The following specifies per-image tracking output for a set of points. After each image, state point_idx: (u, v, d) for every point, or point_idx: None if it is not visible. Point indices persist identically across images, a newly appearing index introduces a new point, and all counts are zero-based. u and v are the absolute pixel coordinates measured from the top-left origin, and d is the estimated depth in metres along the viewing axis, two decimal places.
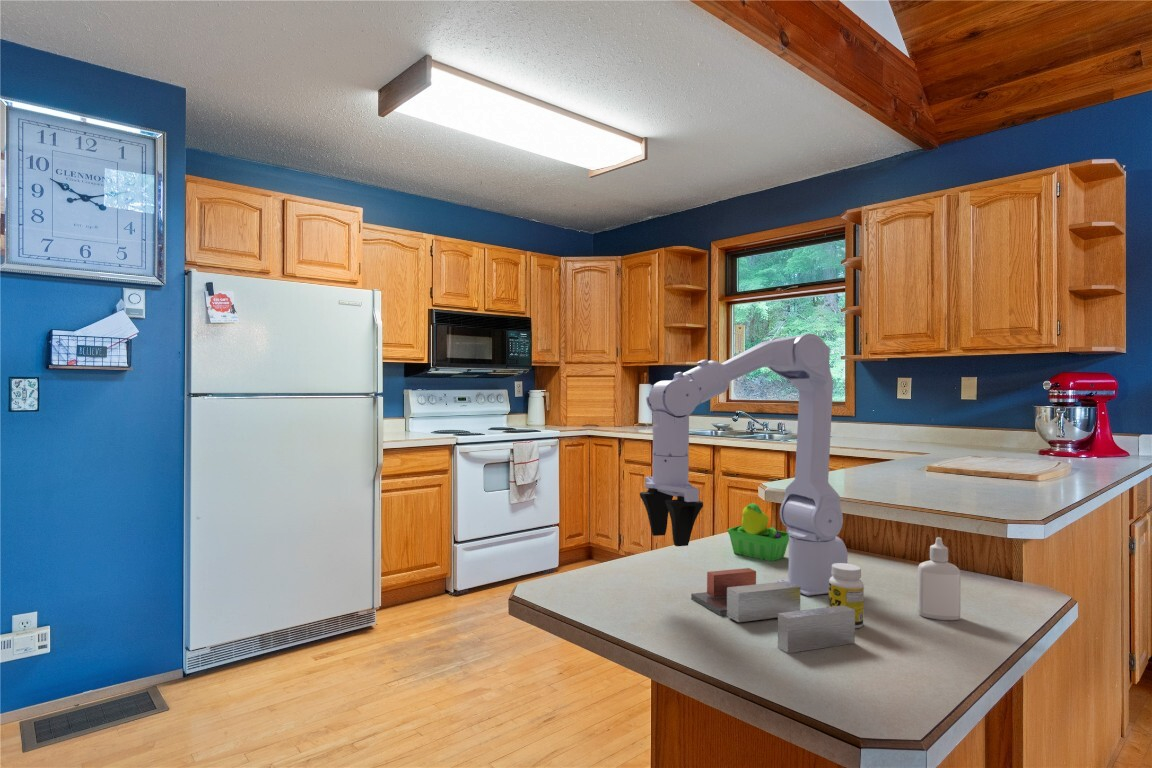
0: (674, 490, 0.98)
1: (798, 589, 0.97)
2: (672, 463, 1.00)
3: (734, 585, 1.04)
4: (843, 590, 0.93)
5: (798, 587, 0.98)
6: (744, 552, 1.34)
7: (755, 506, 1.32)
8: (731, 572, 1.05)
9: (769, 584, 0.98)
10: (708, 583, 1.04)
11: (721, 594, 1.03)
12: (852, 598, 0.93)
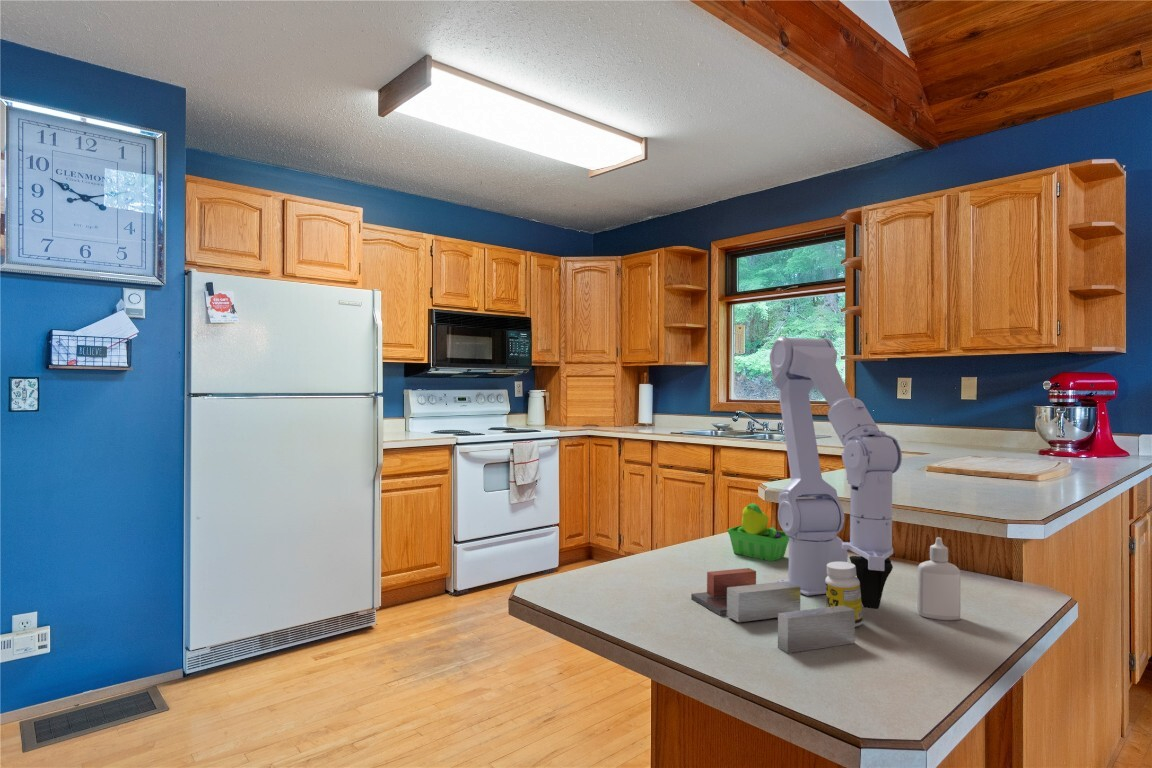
0: (862, 555, 0.93)
1: (798, 589, 0.97)
2: (865, 525, 0.94)
3: (734, 585, 1.04)
4: (840, 589, 0.93)
5: (798, 587, 0.98)
6: (744, 552, 1.34)
7: (755, 506, 1.32)
8: (731, 572, 1.05)
9: (769, 584, 0.98)
10: (708, 583, 1.04)
11: (721, 594, 1.03)
12: (849, 597, 0.93)
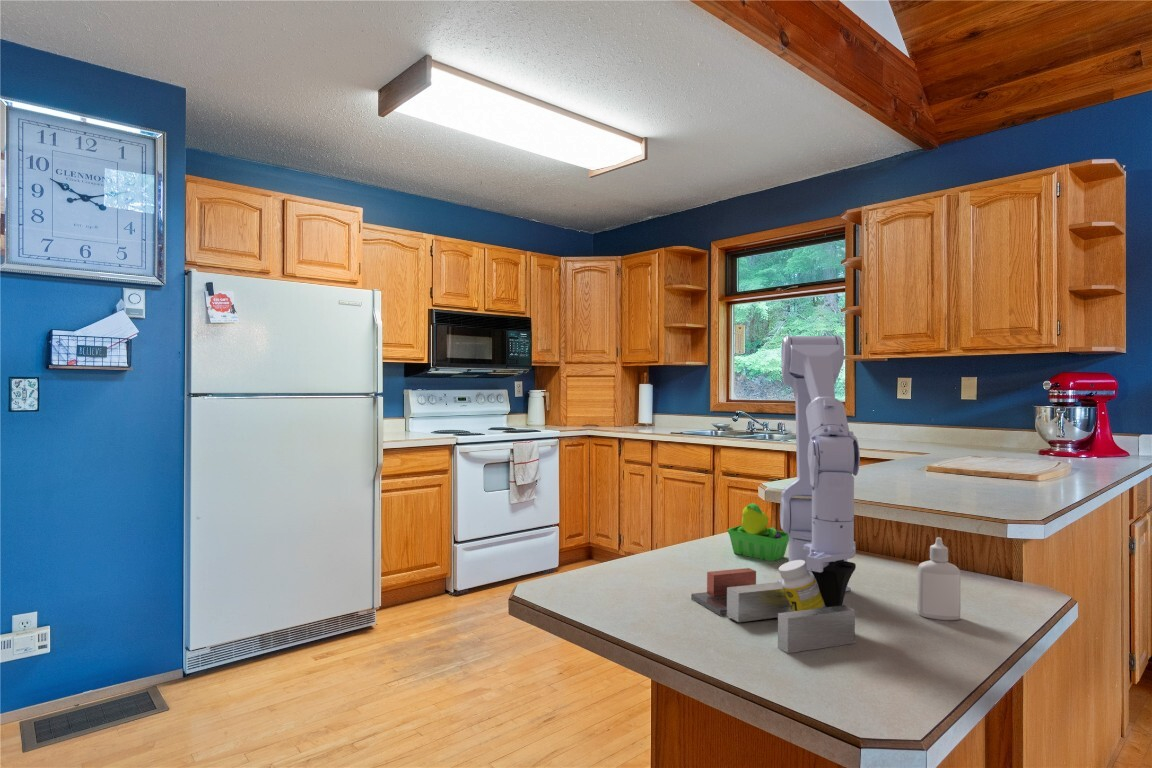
0: None
1: None
2: (819, 527, 0.93)
3: (734, 585, 1.04)
4: (793, 590, 0.92)
5: None
6: (744, 552, 1.34)
7: (755, 506, 1.32)
8: (731, 572, 1.05)
9: (769, 584, 0.98)
10: (708, 583, 1.04)
11: (721, 594, 1.03)
12: (804, 596, 0.91)
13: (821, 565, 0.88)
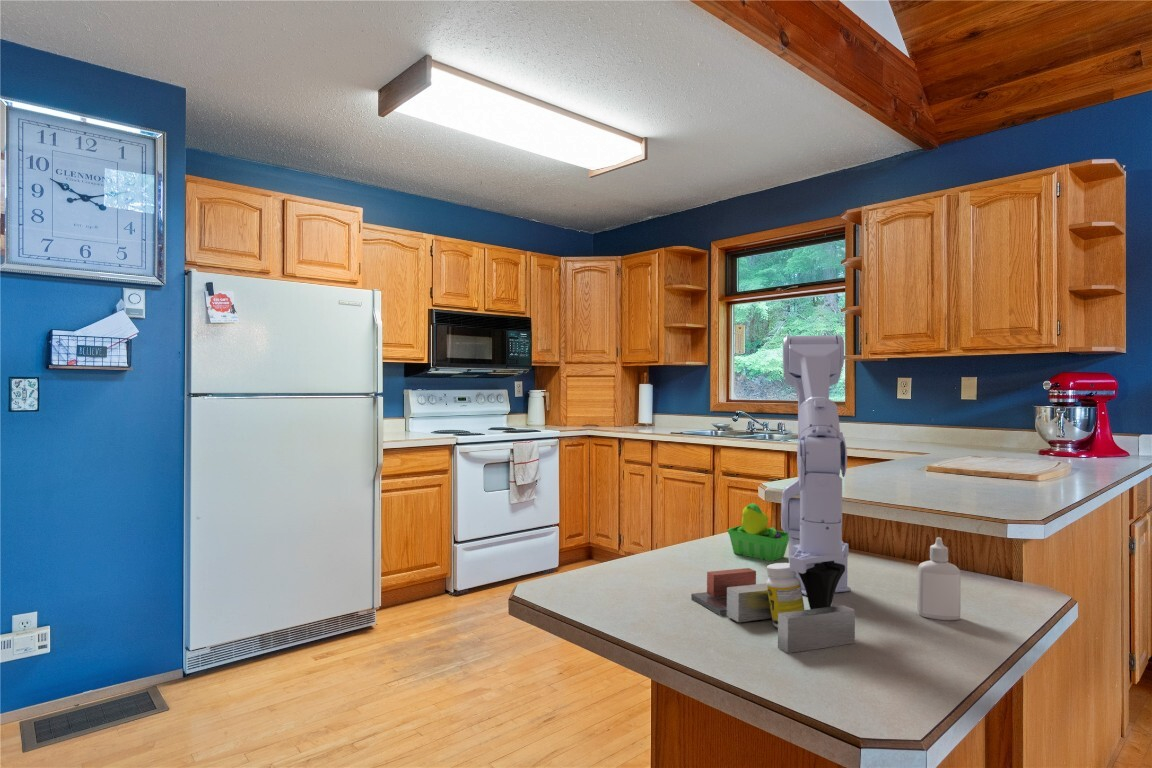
0: None
1: None
2: (805, 528, 0.92)
3: (734, 585, 1.04)
4: (773, 589, 0.92)
5: None
6: (744, 552, 1.34)
7: (755, 506, 1.32)
8: (731, 572, 1.05)
9: None
10: (708, 583, 1.04)
11: (721, 594, 1.03)
12: (783, 597, 0.91)
13: (803, 566, 0.88)
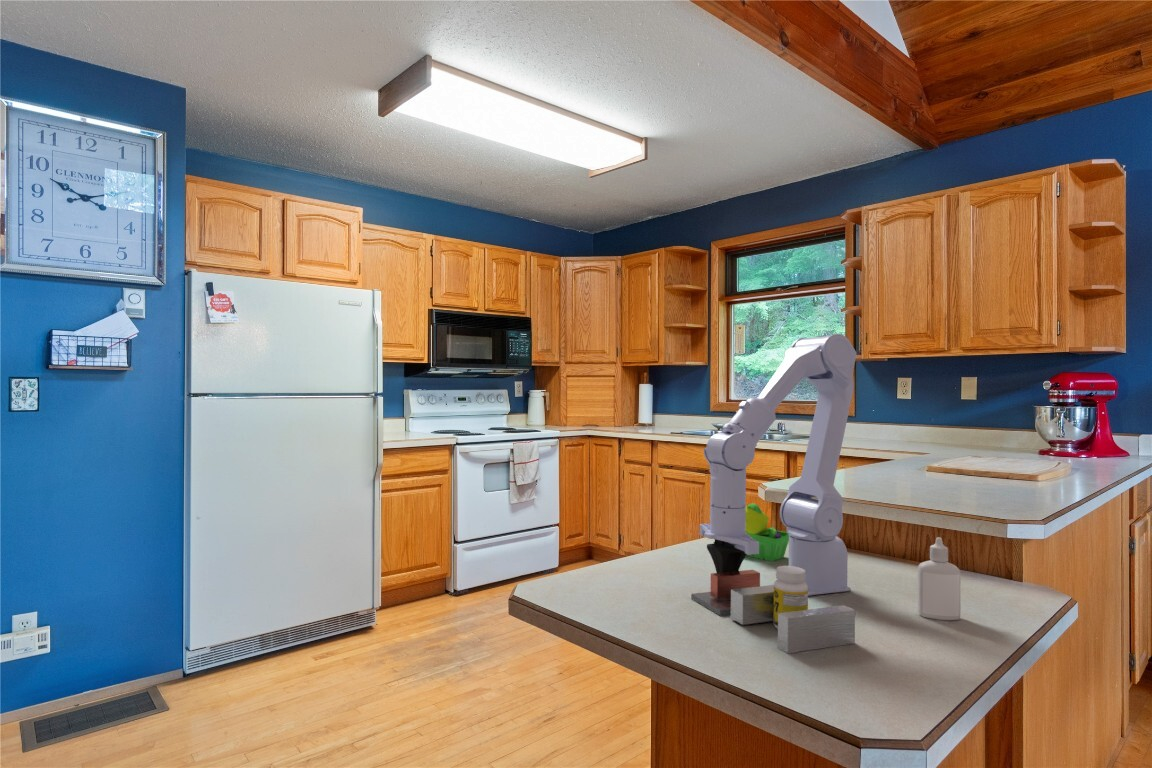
0: (734, 542, 1.02)
1: None
2: (731, 515, 1.04)
3: (738, 587, 1.03)
4: (780, 592, 0.91)
5: None
6: None
7: (755, 506, 1.32)
8: (735, 574, 1.04)
9: (773, 586, 0.98)
10: (711, 585, 1.03)
11: (725, 596, 1.02)
12: (789, 601, 0.91)
13: None
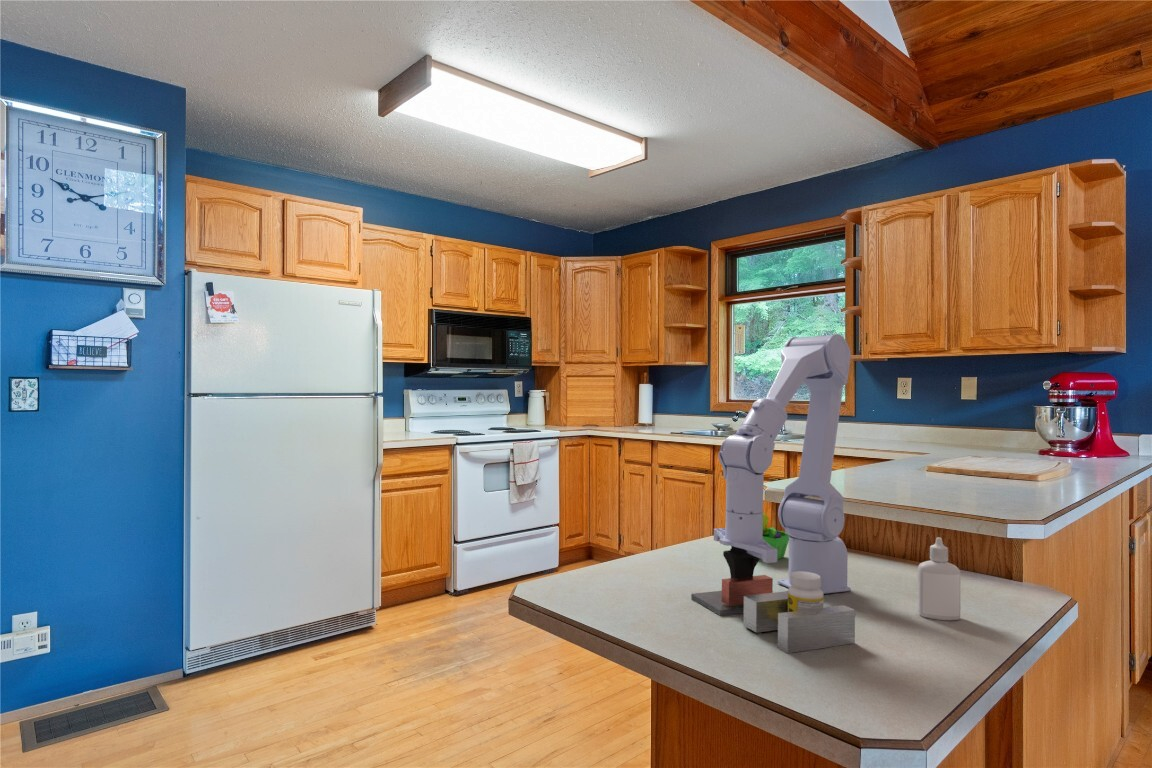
0: (751, 549, 0.97)
1: None
2: (748, 521, 0.99)
3: (750, 593, 1.00)
4: (795, 598, 0.88)
5: None
6: None
7: None
8: (747, 579, 1.00)
9: (787, 592, 0.94)
10: (723, 591, 1.00)
11: (736, 602, 0.99)
12: (803, 608, 0.88)
13: None
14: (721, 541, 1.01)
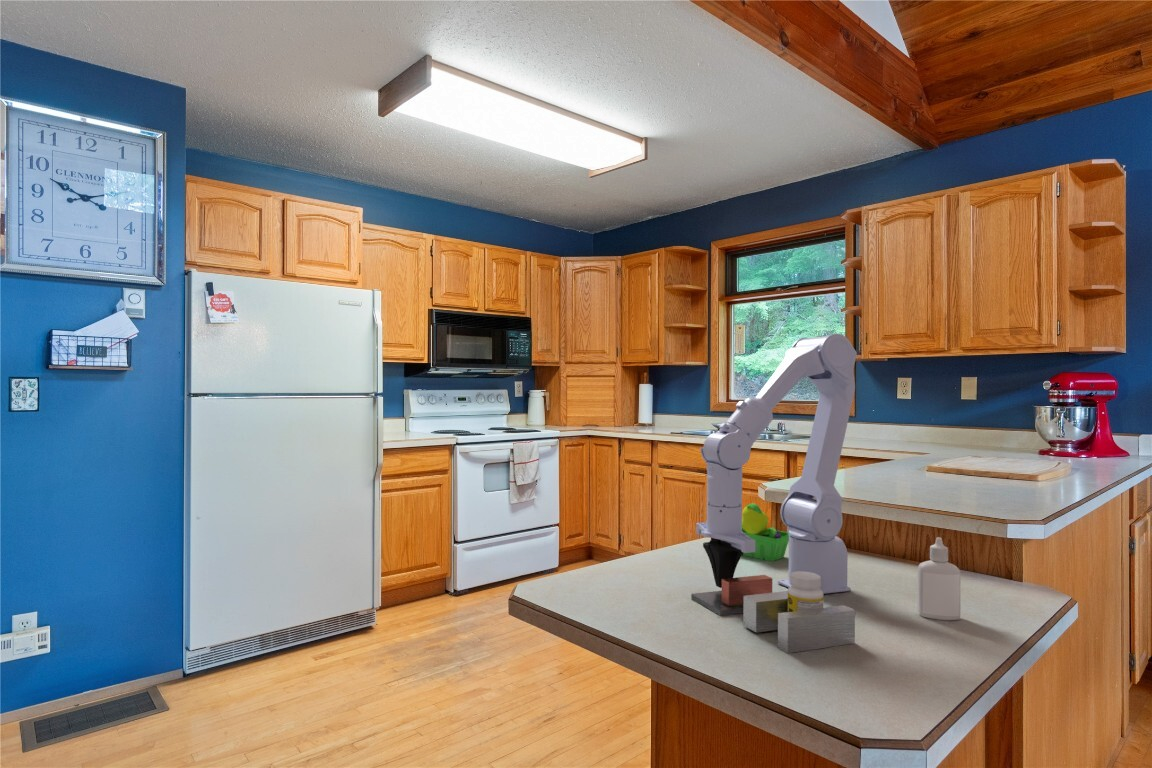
0: (730, 540, 1.03)
1: None
2: (728, 513, 1.05)
3: (750, 593, 1.00)
4: (795, 598, 0.88)
5: None
6: None
7: (755, 506, 1.32)
8: (746, 579, 1.01)
9: (787, 592, 0.95)
10: (723, 591, 1.00)
11: (736, 602, 0.99)
12: (803, 608, 0.88)
13: None
14: (702, 533, 1.06)
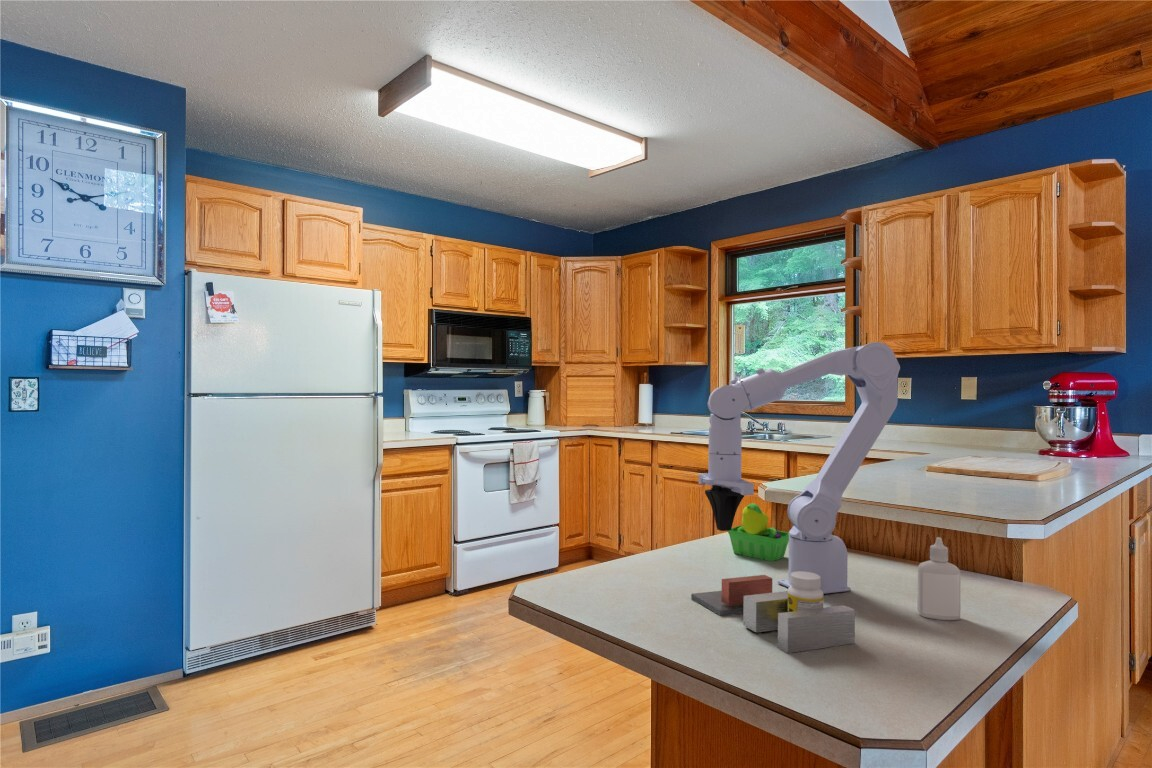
0: (731, 485, 1.10)
1: None
2: (728, 460, 1.12)
3: (750, 593, 1.00)
4: (795, 598, 0.88)
5: None
6: (744, 552, 1.34)
7: (755, 506, 1.32)
8: (746, 579, 1.01)
9: (787, 592, 0.95)
10: (723, 591, 1.00)
11: (736, 602, 0.99)
12: (803, 608, 0.88)
13: None
14: (704, 480, 1.13)
